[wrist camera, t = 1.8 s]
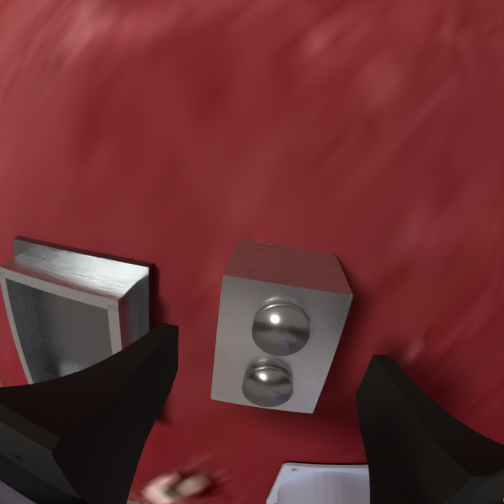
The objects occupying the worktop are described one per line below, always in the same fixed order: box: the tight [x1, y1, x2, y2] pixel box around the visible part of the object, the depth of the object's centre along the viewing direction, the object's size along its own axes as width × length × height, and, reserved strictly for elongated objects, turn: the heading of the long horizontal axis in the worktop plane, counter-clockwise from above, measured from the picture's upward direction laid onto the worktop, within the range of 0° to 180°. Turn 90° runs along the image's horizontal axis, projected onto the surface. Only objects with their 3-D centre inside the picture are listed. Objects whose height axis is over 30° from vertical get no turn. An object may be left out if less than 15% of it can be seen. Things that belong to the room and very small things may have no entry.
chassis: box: [0, 236, 158, 424], centre depth 16 cm, size 10×12×3 cm
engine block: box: [211, 238, 353, 413], centre depth 13 cm, size 4×6×5 cm
